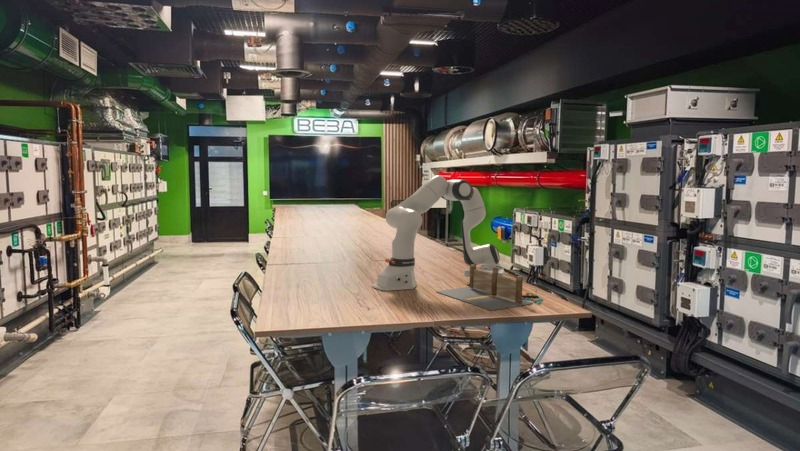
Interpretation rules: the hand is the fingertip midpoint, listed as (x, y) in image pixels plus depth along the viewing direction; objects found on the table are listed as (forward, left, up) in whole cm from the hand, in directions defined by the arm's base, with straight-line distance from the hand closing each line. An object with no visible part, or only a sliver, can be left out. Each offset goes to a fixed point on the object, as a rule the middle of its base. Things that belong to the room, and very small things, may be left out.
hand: (480, 276), depth 260 cm
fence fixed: (-7, -25, -5) cm, 27 cm away
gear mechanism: (+4, -29, -6) cm, 30 cm away
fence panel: (-7, -8, -4) cm, 12 cm away
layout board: (-14, -17, -5) cm, 23 cm away
